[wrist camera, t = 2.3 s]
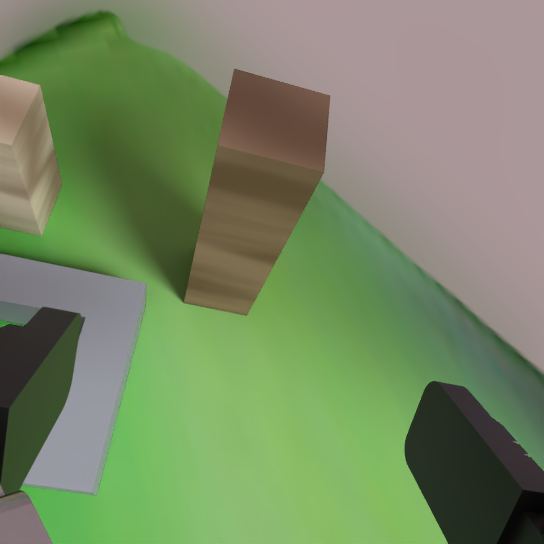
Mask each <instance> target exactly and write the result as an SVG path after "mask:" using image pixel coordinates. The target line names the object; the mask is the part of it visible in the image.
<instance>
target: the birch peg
mask: <svg viewBox="0 0 544 544" xmlns="http://www.w3.org/2000/svg"><path fill="white" fill-rule="evenodd" d="M61 187H62V181H61V176H60V172H59V167H58V163H57V158H56V154H55V149H54V145H53V140H52V136H51V131H50V127H49V122H48V118H47V113H46V109H45V104H44V100H43V95H42V91H41V86H40V85H38V84H34V83H30V82H26V81H22V80H19V79H15V78H11V77H7V76H3V75H0V228H5V229H10V230H14V231H19V232H24V233H28V234H33V235H38V236H42V235H43V232H44V230H45V227H46V224H47V222H48V219H49V217H50V214H51V212H52V209H53V207H54V204H55V202H56V199H57V197H58V194H59V192H60V189H61Z"/></svg>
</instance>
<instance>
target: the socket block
mask: <svg viewBox="0 0 544 544" xmlns="http://www.w3.org/2000/svg"><path fill="white" fill-rule="evenodd" d="M146 286H147V284H146V283H141V282H137V281H132V280H127V279H122V278H117V277H112V276H107V275H102V274H98V273H93V272H88V271H83V270H78V269H73V268H68V267H63V266H59V265H54V264H49V263H44V262H39V261H34V260H29V259H24V258H20V257H15V256H10V255H5V254H0V320H3V321H9V322H14V323H20V324H25V325H26V324H27V323H28V322H29V321H30V320H31V318H32V317H33V316H34V315H35V314H36V313H37V312H38V311H39V310H40V309H41V308H42V307H49V308H55V309H60V310H65V311H70V312H76V313H80V314H81V326H80V333H79V335H80V337H79V340H78V346H77V353H76V359H75V366H74V372H73V378H72V384H71V388H70V392H69V395H68V398H67V401H66V404H65V406H64V408H63V410H62V412H61V414H60V416H59V417H58V419H57V421H56V423H55V425H54V427H53V429H52V430H51V432H50V434H49V436H48V438H47V440H46V441H45V443H44V445H43V447H42V449H41V451H40V452H39V454H38V456H37V458H36V460H35V462H34V464H33V465H32V467H31V469H30V471H29V473H28V475H27V476H26V478H25V480H24V482H23V484H22V485H23V486H30V487H38V488H45V489H53V490H60V491H67V492H75V493H82V494H90V495H97V492H98V488H99V485H100V481H101V477H102V473H103V469H104V465H105V461H106V457H107V454H108V450H109V446H110V442H111V438H112V434H113V430H114V426H115V423H116V419H117V415H118V411H119V407H120V403H121V399H122V395H123V392H124V388H125V384H126V380H127V376H128V372H129V368H130V364H131V361H132V357H133V353H134V349H135V345H136V341H137V337H138V333H139V329H140V326H141V322H142V318H143V314H144V310H145V306H146Z"/></svg>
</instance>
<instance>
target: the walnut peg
mask: <svg viewBox="0 0 544 544" xmlns="http://www.w3.org/2000/svg"><path fill="white" fill-rule="evenodd" d="M329 103H330V96H329V95H326V94H322V93H319V92H315V91H311V90H308V89H304V88H301V87H297V86H294V85H290V84H287V83H283V82H280V81H276V80H272V79H269V78H265V77H262V76H258V75H255V74H251V73H248V72H244V71H240V70H237V69H234V73H233V78H232V82H231V86H230V91H229V96H228V100H227V105H226V109H225V114H224V118H223V123H222V127H221V132H220V137H219V141H218V146H217V150H216V155H215V160H214V164H213V169H212V174H211V178H210V183H209V188H208V192H207V197H206V202H205V206H204V211H203V215H202V220H201V225H200V229H199V234H198V239H197V243H196V248H195V253H194V257H193V262H192V267H191V271H190V276H189V281H188V285H187V290H186V294H185V299H184V303H187V304H192V305H197V306H202V307H206V308H211V309H216V310H221V311H226V312H231V313H236V314H241V315H246V316H247V314H248V312H249V310H250V309H251V307H252V305H253V303H254V301H255V299H256V297H257V296H258V294H259V292H260V290H261V288H262V286H263V284H264V283H265V281H266V279H267V277H268V275H269V273H270V272H271V270H272V268H273V266H274V264H275V262H276V260H277V259H278V257H279V255H280V253H281V251H282V249H283V247H284V246H285V244H286V242H287V240H288V238H289V236H290V234H291V233H292V231H293V229H294V227H295V225H296V223H297V221H298V220H299V218H300V216H301V214H302V212H303V210H304V208H305V207H306V205H307V203H308V201H309V199H310V197H311V195H312V194H313V192H314V190H315V188H316V186H317V184H318V182H319V181H320V179H321V177H322V175H323V173H324V166H325V152H326V141H327V128H328V116H329Z"/></svg>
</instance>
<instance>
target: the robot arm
mask: <svg viewBox="0 0 544 544" xmlns="http://www.w3.org/2000/svg"><path fill="white" fill-rule="evenodd" d="M80 326H81V314H80V313H76V312H70V311H65V310H60V309H55V308H49V307H42V308H41V309H40V310H39V311H38V312H37V313H36V314H35V315H34V316H33V317H32V318H31V320H30V321H29V322H28V323H27V324H26V325H25V326H24V327H23V326H18V325H12V324H9V325H6V326H4V327H1V328H0V544H53V543H52V541H51V539H50V537H49V535H48V533H47V531H46V529H45V527H44V525H43V523H42V521H41V519H40V517H39V515H38V513H37V511H36V509H35V507H34V505H33V503H32V501H31V499H30V498H29V496H28V495H27V494H26V493H25V492H24V491H21V490H20V491H19V489H20V487H21V486H22V484H23V482H24V480H25V478H26V476H27V475H28V473H29V471H30V469H31V467H32V465H33V464H34V462H35V460H36V458H37V456H38V454H39V452H40V451H41V449H42V447H43V445H44V443H45V441H46V440H47V438H48V436H49V434H50V432H51V430H52V429H53V427H54V425H55V423H56V421H57V419H58V417H59V416H60V414H61V412H62V410H63V408H64V406H65V404H66V401H67V398H68V395H69V392H70V388H71V384H72V378H73V372H74V366H75V359H76V353H77V346H78V340H79V333H80ZM516 442H517V441H516V440H515V439H514V438H513V437H512V435H511V434H510V433H509V432H508V431H507V430H506V429H505V428H504V426H503V425H501V424H500V423H499V422H497V421H496V420H495V419H493V418H492V417H491V416H490V415H489V414H488V412H487V411H486V410H485V409H484V408H483V407H482V406H481V404H480V403H479V402H478V401H477V400H476V399H475V398H474V396H473V395H472V394H471V393H470V392H469V391H468V390H467V389H466V388H465V387H463V386H457V385H452V384H447V383H442V382H436V381H432V382H430V383H429V384H428V385H427V386H426V388H425V390H424V392H423V395H422V397H421V400H420V403H419V405H418V408H417V410H416V413H415V415H414V418H413V421H412V423H411V426H410V428H409V431H408V434H407V436H406V440H405V458H406V462H407V465H408V467H409V469H410V471H411V472H412V474H413V476H414V478H415V480H416V482H417V484H418V486H419V488H420V490H421V492H422V494H423V496H424V498H425V499H426V501H427V503H428V505H429V507H430V509H431V511H432V513H433V515H434V517H435V519H436V521H437V523H438V525H439V527H440V528H441V530H442V532H443V534H444V536H445V538H446V540H447V542H448V544H544V472H543V470H542V469H541V468H540V467H539V466H538V465H537V464H536V463H535V461H534V460H533V459H532V458H530V457H528V453H527V452H526V451H525V450H524V449H523V448H522V447H521V446H520V444H516Z"/></svg>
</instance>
